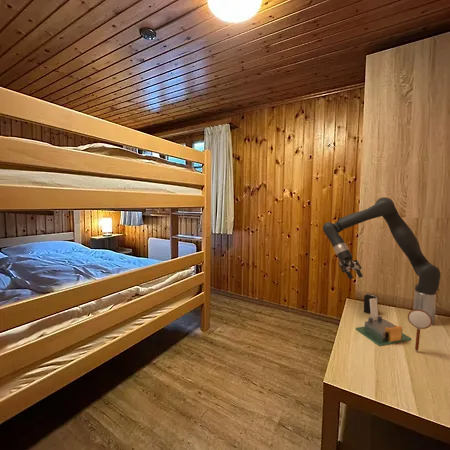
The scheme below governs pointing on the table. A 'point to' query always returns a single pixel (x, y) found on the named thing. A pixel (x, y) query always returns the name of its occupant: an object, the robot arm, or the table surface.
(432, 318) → the robot arm
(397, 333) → the circuit board
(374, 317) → the light grey flat bar
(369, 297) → the battery
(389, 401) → the table surface
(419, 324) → the magnifying glass
